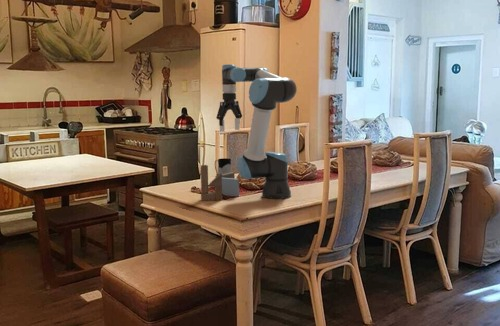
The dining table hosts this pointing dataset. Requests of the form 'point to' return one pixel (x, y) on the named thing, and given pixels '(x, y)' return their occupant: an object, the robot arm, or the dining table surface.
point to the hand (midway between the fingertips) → (229, 130)
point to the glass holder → (223, 165)
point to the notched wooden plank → (227, 175)
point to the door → (230, 186)
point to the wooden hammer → (210, 185)
